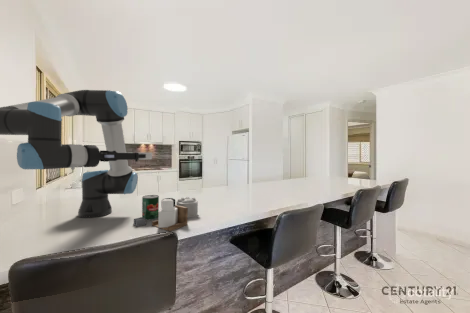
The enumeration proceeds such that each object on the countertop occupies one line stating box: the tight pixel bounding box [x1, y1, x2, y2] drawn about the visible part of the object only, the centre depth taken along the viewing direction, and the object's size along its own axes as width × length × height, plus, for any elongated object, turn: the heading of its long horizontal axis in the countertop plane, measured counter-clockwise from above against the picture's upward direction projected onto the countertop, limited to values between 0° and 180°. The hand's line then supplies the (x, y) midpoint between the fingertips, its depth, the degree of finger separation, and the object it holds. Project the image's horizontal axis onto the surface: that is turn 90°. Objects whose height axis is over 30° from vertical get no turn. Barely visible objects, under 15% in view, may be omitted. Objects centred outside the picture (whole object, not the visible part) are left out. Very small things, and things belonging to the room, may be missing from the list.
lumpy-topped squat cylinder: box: [175, 196, 199, 218], centre depth 117 cm, size 10×13×9 cm
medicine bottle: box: [157, 197, 178, 229], centre depth 97 cm, size 7×7×12 cm
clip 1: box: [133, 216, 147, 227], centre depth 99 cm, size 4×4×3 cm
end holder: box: [151, 204, 189, 232], centre depth 98 cm, size 12×10×8 cm
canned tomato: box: [141, 194, 160, 221], centre depth 109 cm, size 8×8×11 cm
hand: (141, 155), depth 90 cm, fingers open, 13 cm apart
